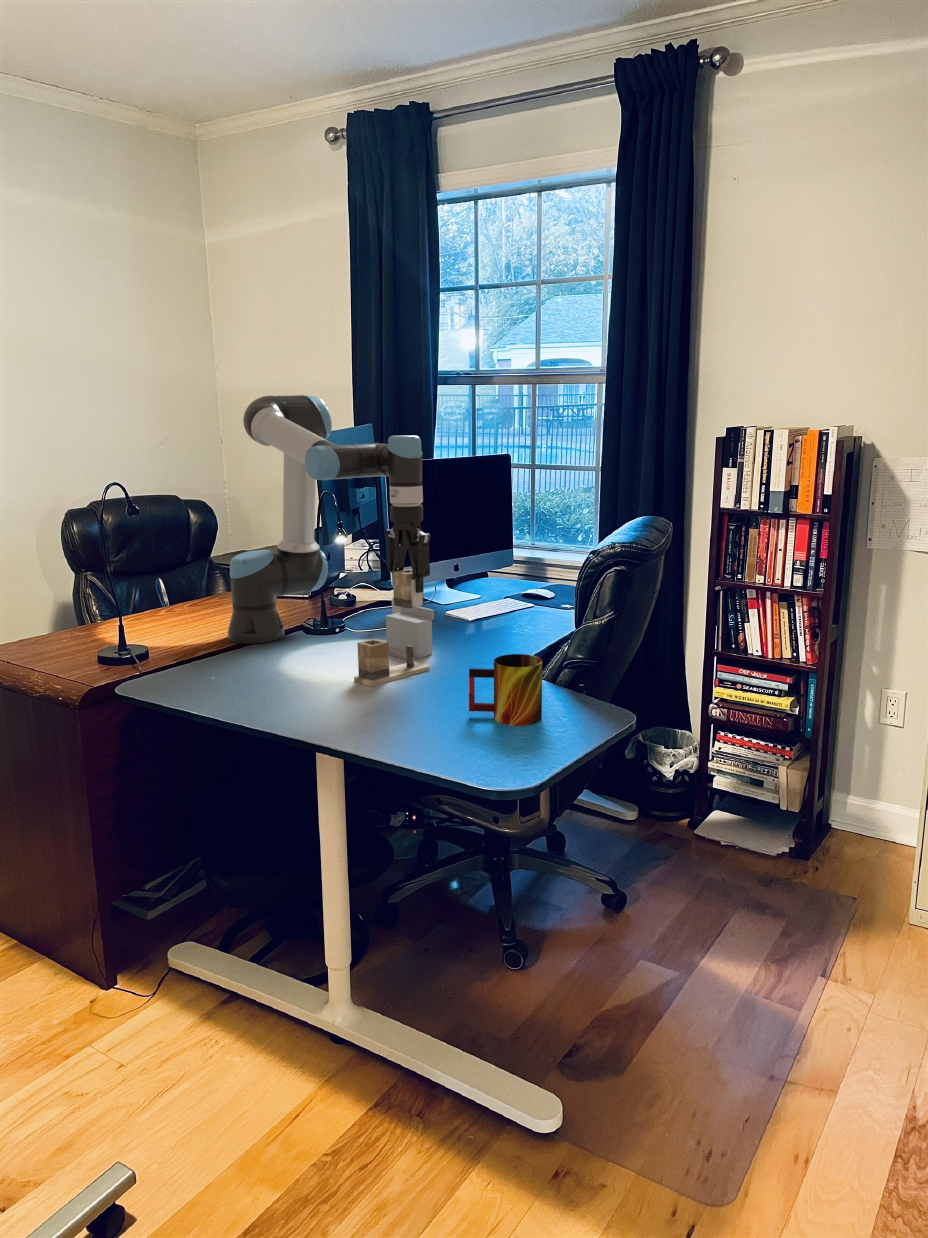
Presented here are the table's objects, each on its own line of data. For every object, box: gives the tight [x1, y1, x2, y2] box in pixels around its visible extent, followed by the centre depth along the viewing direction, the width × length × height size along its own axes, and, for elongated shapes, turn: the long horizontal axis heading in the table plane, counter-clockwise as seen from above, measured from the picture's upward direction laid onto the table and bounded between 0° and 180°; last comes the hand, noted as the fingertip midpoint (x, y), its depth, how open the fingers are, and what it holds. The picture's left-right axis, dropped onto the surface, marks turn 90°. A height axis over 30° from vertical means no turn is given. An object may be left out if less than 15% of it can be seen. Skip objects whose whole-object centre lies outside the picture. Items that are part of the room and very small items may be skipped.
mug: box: [468, 653, 543, 727], centre depth 178 cm, size 10×14×12 cm
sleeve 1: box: [357, 638, 390, 681], centre depth 205 cm, size 5×5×8 cm
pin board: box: [353, 645, 431, 687], centre depth 209 cm, size 6×18×6 cm, turn 134°
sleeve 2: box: [392, 568, 425, 608], centre depth 209 cm, size 5×5×8 cm
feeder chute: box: [385, 606, 435, 661], centre depth 228 cm, size 12×9×11 cm
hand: (408, 604), depth 210 cm, fingers closed on sleeve 2, 5 cm apart
